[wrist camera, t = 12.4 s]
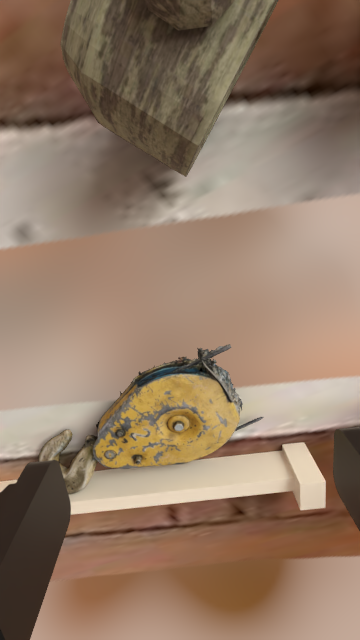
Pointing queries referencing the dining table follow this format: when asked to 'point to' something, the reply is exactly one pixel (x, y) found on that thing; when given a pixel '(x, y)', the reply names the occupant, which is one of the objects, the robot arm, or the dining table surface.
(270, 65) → the dining table surface
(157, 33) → the tabletop clock
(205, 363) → the pulley block
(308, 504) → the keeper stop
